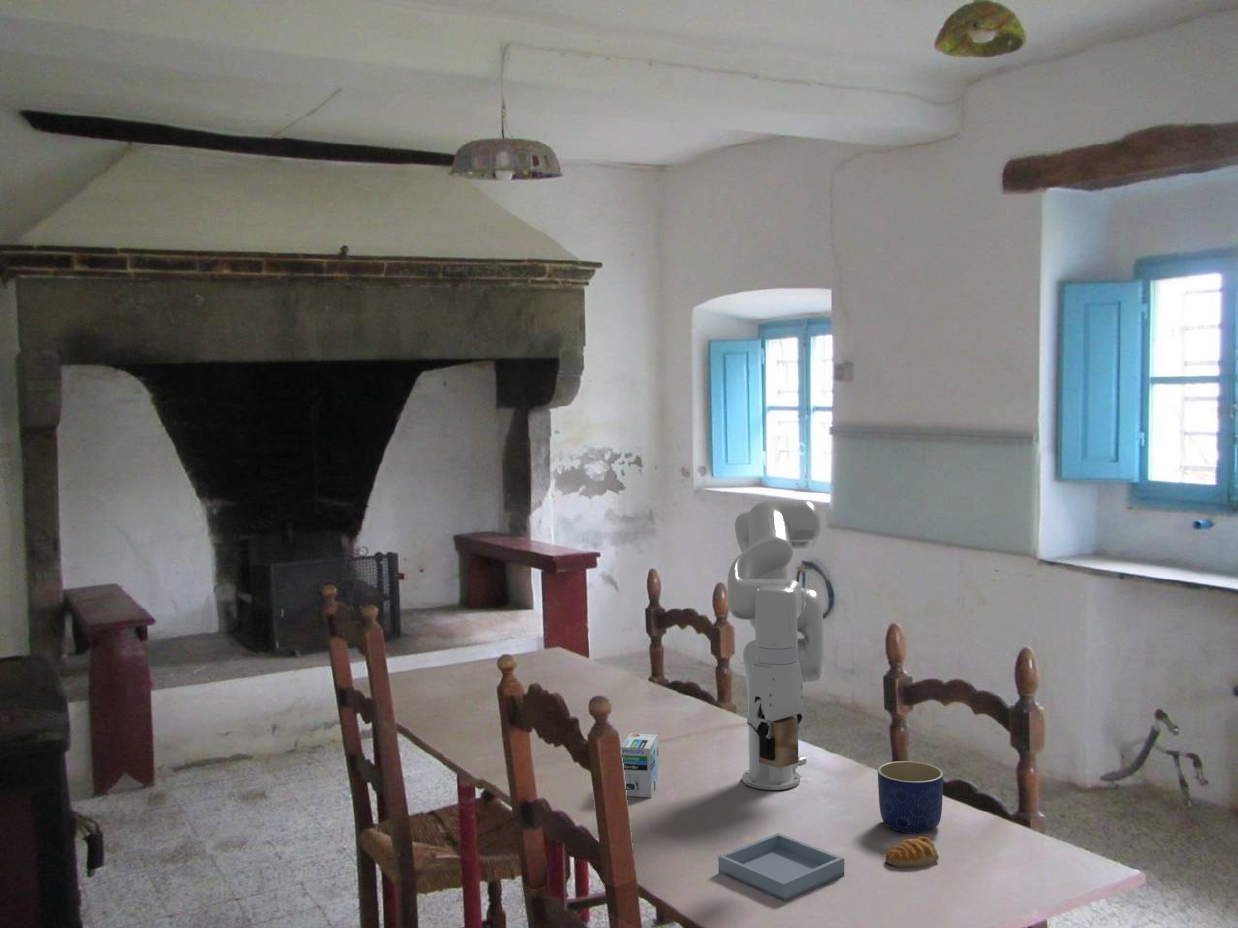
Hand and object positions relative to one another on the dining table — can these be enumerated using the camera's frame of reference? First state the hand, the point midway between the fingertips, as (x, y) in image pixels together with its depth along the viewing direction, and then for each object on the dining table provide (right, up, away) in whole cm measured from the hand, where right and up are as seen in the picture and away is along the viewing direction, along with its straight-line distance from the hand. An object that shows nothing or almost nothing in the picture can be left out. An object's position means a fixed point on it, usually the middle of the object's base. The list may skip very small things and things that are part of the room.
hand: (778, 754), depth 200 cm
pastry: (+25, -20, +1) cm, 32 cm away
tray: (0, -20, -3) cm, 21 cm away
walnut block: (0, -1, 0) cm, 1 cm away
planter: (+28, -19, +17) cm, 38 cm away
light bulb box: (-24, -19, +42) cm, 52 cm away
